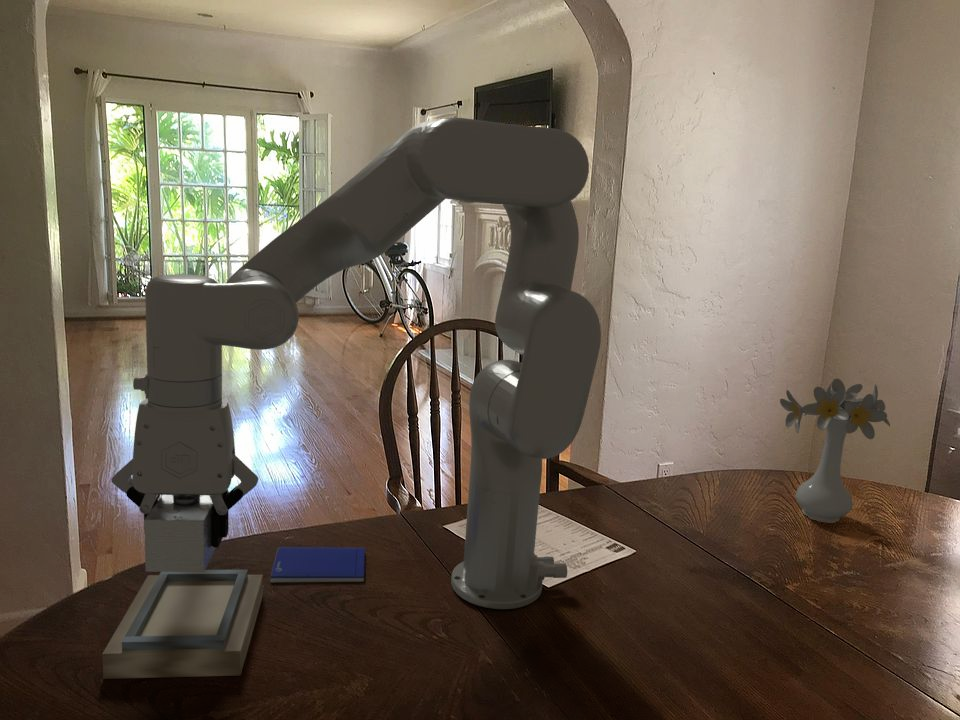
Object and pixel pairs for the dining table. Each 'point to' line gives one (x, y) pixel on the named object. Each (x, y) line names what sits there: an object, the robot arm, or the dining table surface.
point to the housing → (179, 534)
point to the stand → (186, 626)
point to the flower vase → (833, 444)
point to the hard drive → (318, 564)
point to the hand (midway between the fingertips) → (187, 540)
